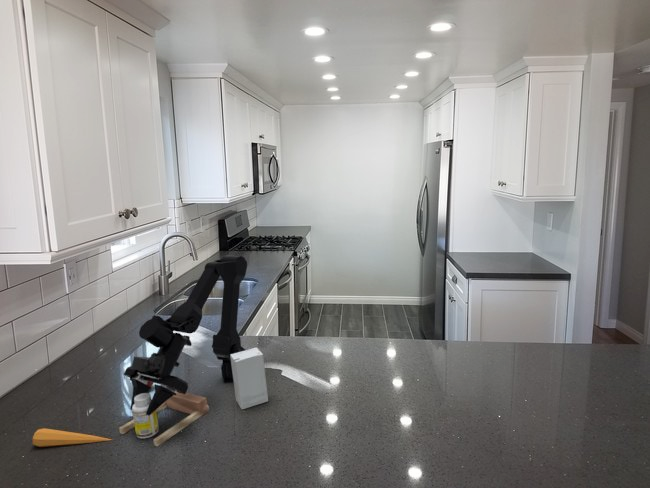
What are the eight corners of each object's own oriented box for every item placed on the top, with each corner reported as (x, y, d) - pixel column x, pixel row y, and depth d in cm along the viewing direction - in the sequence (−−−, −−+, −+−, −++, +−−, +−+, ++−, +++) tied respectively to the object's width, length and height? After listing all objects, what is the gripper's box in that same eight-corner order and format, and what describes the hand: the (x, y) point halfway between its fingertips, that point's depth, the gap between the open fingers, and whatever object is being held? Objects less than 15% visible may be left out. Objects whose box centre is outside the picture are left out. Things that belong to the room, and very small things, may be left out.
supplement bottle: (152, 424, 122) (147, 389, 120) (163, 431, 118) (158, 394, 116) (132, 435, 118) (126, 398, 116) (142, 442, 114) (137, 404, 112)
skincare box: (262, 393, 135) (257, 346, 132) (269, 402, 129) (264, 353, 127) (234, 401, 131) (229, 352, 129) (240, 411, 126) (234, 360, 123)
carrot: (32, 451, 115) (26, 440, 113) (42, 435, 119) (36, 424, 116) (112, 453, 115) (108, 442, 113) (119, 437, 119) (115, 426, 117)
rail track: (173, 400, 134) (171, 387, 134) (209, 410, 127) (207, 397, 127) (119, 433, 119) (117, 418, 118) (157, 446, 112) (155, 431, 111)
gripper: (124, 337, 122) (92, 395, 114) (174, 347, 113) (142, 410, 105) (152, 354, 130) (124, 408, 122) (200, 364, 121) (173, 423, 113)
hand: (139, 412), depth 116 cm, fingers closed on supplement bottle, 6 cm apart
